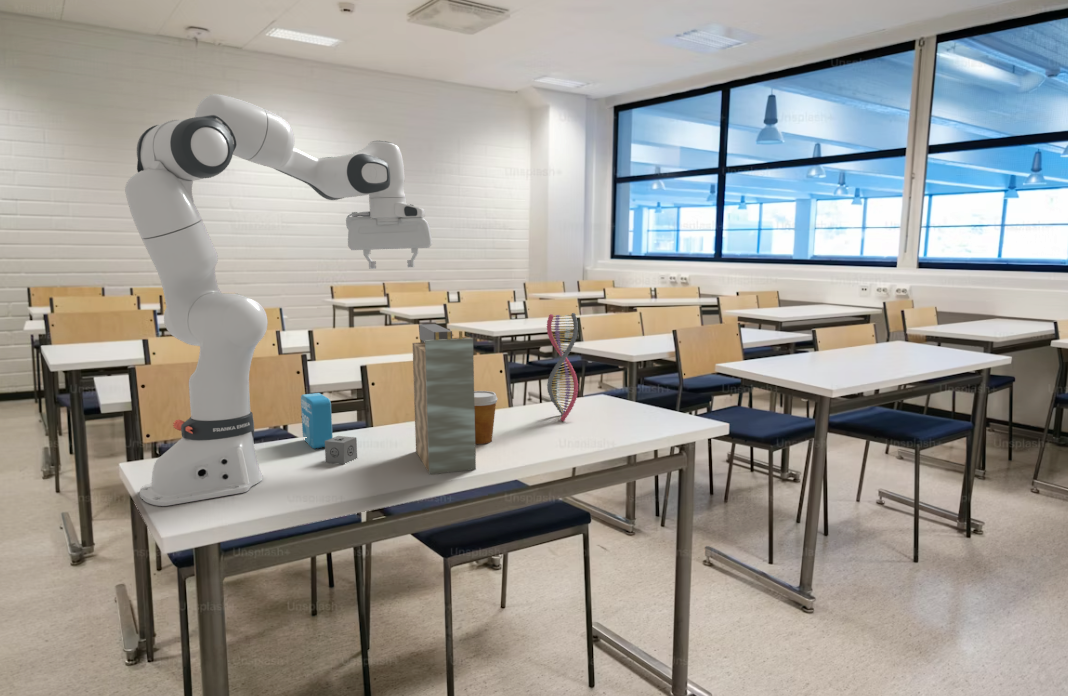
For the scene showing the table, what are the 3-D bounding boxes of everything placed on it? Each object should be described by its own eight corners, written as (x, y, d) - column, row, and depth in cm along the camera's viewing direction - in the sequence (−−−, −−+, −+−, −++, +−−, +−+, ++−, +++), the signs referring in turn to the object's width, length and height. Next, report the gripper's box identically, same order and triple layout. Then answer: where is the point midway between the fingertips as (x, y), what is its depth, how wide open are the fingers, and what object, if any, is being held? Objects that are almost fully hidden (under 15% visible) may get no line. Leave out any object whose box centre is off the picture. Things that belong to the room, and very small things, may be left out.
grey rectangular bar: (419, 338, 171) (419, 324, 171) (436, 338, 172) (435, 324, 172) (434, 348, 152) (434, 332, 152) (452, 347, 154) (452, 331, 153)
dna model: (546, 421, 195) (546, 314, 192) (547, 414, 204) (546, 312, 200) (578, 421, 195) (578, 314, 191) (578, 414, 204) (577, 312, 200)
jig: (415, 451, 166) (411, 325, 162) (457, 447, 169) (454, 323, 165) (429, 474, 148) (425, 333, 144) (475, 469, 151) (472, 331, 147)
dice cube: (325, 462, 158) (324, 441, 157) (338, 456, 162) (337, 435, 162) (344, 464, 156) (343, 442, 155) (357, 458, 160) (356, 437, 160)
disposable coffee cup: (499, 436, 179) (499, 390, 178) (496, 446, 170) (495, 397, 169) (463, 436, 180) (462, 390, 178) (457, 446, 170) (456, 397, 169)
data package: (302, 439, 178) (300, 393, 177) (320, 437, 180) (318, 391, 179) (314, 450, 168) (312, 401, 166) (333, 447, 170) (331, 399, 169)
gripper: (342, 211, 166) (346, 269, 169) (428, 209, 167) (431, 267, 169) (348, 212, 173) (352, 268, 175) (431, 210, 173) (434, 266, 175)
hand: (391, 268), depth 172 cm, fingers open, 8 cm apart
